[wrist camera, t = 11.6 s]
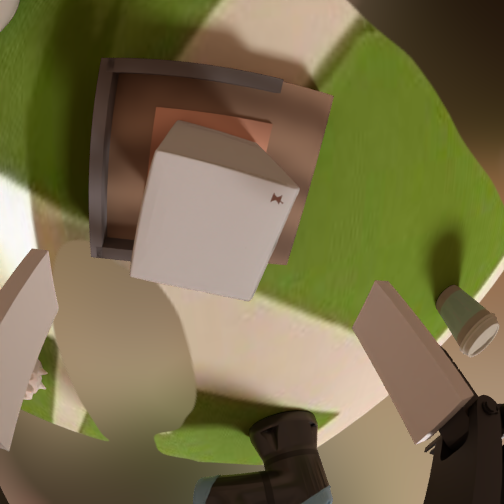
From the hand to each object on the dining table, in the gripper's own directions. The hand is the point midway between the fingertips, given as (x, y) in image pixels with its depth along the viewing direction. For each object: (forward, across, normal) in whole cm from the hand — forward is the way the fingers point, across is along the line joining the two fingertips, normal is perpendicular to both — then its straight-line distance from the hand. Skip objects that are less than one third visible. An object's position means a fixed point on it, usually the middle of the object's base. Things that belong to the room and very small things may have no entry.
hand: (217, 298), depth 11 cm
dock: (+20, 0, 0) cm, 20 cm away
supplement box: (+17, 0, 0) cm, 17 cm away
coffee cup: (+21, -45, +14) cm, 52 cm away
